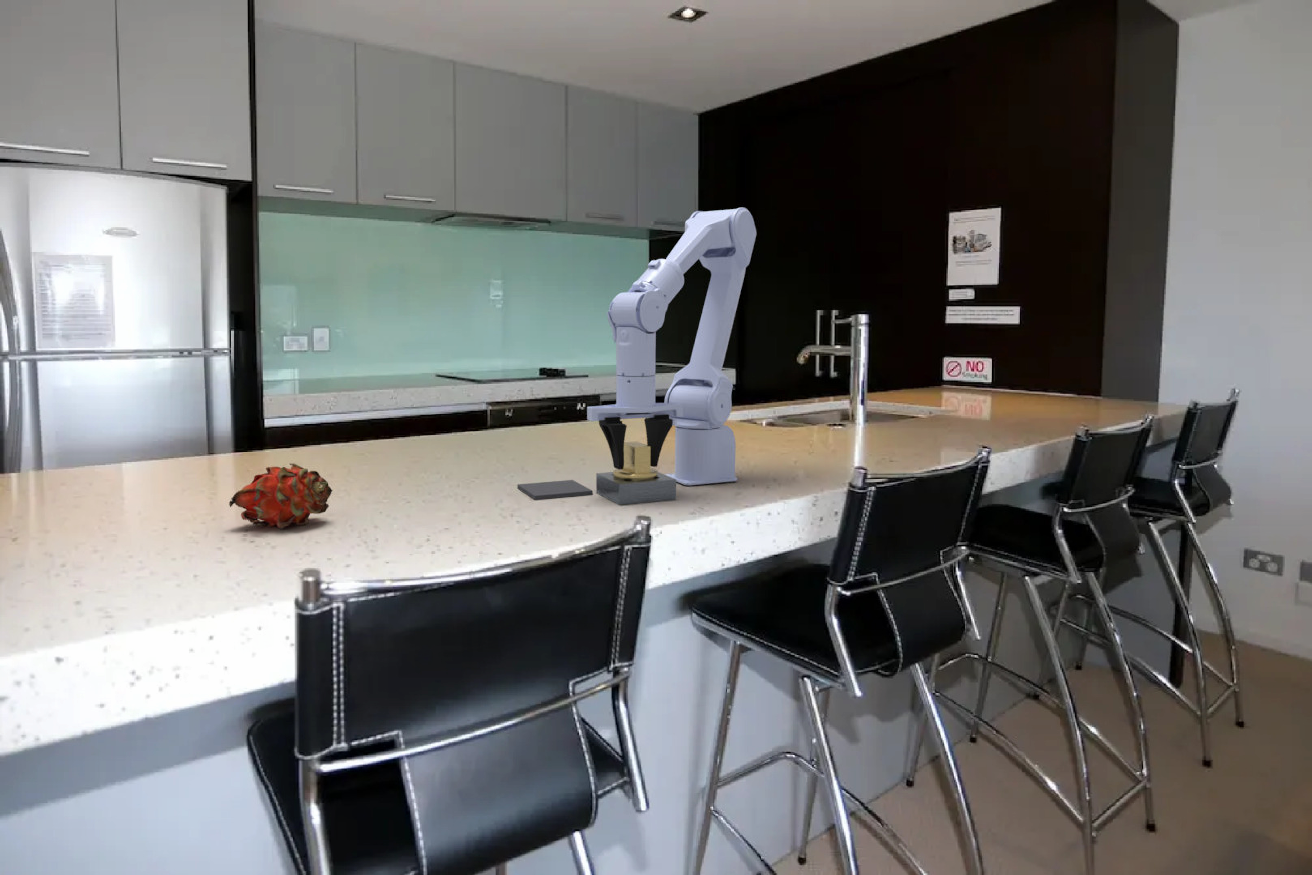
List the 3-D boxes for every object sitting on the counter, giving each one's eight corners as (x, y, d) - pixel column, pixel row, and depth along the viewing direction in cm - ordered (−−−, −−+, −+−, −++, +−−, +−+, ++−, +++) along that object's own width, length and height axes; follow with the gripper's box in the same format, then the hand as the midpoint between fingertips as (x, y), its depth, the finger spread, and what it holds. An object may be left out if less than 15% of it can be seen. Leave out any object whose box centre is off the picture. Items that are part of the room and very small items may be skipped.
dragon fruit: (342, 534, 109) (241, 556, 105) (334, 486, 115) (238, 506, 111) (330, 491, 103) (223, 512, 99) (323, 443, 109) (221, 461, 105)
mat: (572, 483, 134) (572, 479, 134) (592, 494, 126) (592, 490, 126) (517, 488, 131) (517, 484, 131) (534, 499, 123) (534, 495, 123)
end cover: (646, 488, 130) (646, 440, 129) (665, 497, 124) (665, 446, 123) (606, 492, 127) (606, 442, 126) (623, 501, 121) (623, 449, 120)
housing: (650, 487, 132) (650, 468, 131) (676, 499, 123) (676, 479, 123) (596, 492, 128) (596, 473, 127) (619, 505, 120) (619, 484, 119)
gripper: (668, 372, 130) (667, 459, 132) (579, 374, 124) (580, 465, 125) (689, 375, 123) (688, 466, 125) (596, 378, 117) (597, 474, 119)
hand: (635, 467), depth 125 cm, fingers open, 5 cm apart
